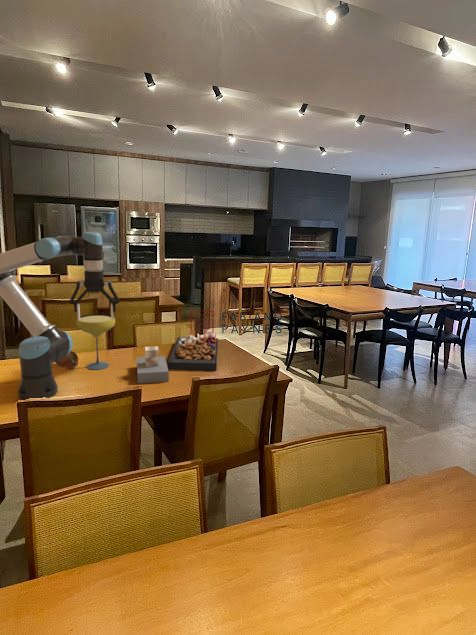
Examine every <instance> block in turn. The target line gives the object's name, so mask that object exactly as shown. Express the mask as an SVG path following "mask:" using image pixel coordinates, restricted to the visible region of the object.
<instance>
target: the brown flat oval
mask: <svg viewBox="0 0 476 635" xmlns="http://www.w3.org/2000/svg"><path fill="white" fill-rule="evenodd" d="M54 363H55V364H56V365H57V366H58V365H60V366H59V367H61V366H63V367H62V368H65V367H66V369H69V370H71V369H73V368H76V367H77V366H78V364H79V356H78V355H77V353H76V352H75V351H72V350H71V351H70V353H69V354H67V355H66V356H65V357H63V358H61V359H59V360H57V361H55V362H54Z"/></svg>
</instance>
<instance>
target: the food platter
mask: <svg viewBox="0 0 476 635" xmlns="http://www.w3.org/2000/svg"><path fill="white" fill-rule="evenodd" d="M206 335H207V332H205V333H204V337H198V336H197V337H195V336H194V335H192V334H190V335H186V336H180V337H177V338H176V340H175V343H174V345H173V348H172V350H171V353H170V355H169V358H168V361H167V362H166V363H167V367H168V371H170V370H171V371H198V370H211V371H210V372H216V371H217V370H218V368H217V367H218V352H219V338H218V337H217V338H216V336H217V333H215V335H213V334H211V333H208V335H207V336H206Z"/></svg>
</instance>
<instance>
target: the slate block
mask: <svg viewBox="0 0 476 635" xmlns="http://www.w3.org/2000/svg"><path fill="white" fill-rule="evenodd" d="M167 363H168V362H167V360H166V356H164V355H163V356H159V366H151V367H146V364H145V356H142V357H139V356H138V357H136V372H137V377H136V378H137V384H151V383H167V382H169V381H170V378H169V377H170V376H169V375H170V374H169V373H170V372H169V371H170V370H168V367H167Z"/></svg>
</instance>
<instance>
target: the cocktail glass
mask: <svg viewBox="0 0 476 635" xmlns="http://www.w3.org/2000/svg"><path fill="white" fill-rule="evenodd" d="M75 323H76V327H77V329H79V330H80V331H82V332H85V333H87V334H90V335H92V336H93V338H94V339H95V342H96V344H95V345H96V346H95V347H96V361H94V362H91V363H89V364H86V369H88V370H92V371H100V370H105V369H107V368H109V367H110V364H109V363H108V362H106V361H105V362H104V361H100V358H99V346H98V343H99V342H98V341H99V340H98V339H99V338H100V336H101V335H102V334H104V333H106V332H108V331H110V330H111V329H112V328H113V327H115V325H116V318H115V316H114V315H113V320H111V314H105V313H92V314H91V313H90V314H85V315H80V320H78V317H77V318H76V321H75Z"/></svg>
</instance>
